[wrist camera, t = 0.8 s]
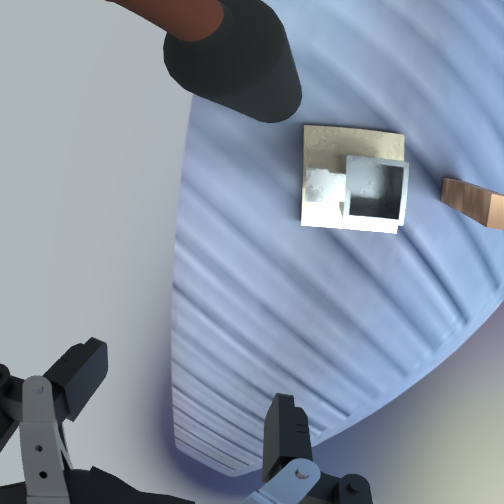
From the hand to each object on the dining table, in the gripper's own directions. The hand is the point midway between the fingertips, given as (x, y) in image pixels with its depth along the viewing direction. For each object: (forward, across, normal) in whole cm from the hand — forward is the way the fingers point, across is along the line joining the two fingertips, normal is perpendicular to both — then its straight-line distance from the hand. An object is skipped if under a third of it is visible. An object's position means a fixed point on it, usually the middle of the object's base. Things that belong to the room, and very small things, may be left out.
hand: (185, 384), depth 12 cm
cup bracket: (+25, -11, -12) cm, 30 cm away
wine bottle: (+26, +1, -20) cm, 32 cm away
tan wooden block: (+22, -25, -15) cm, 37 cm away
